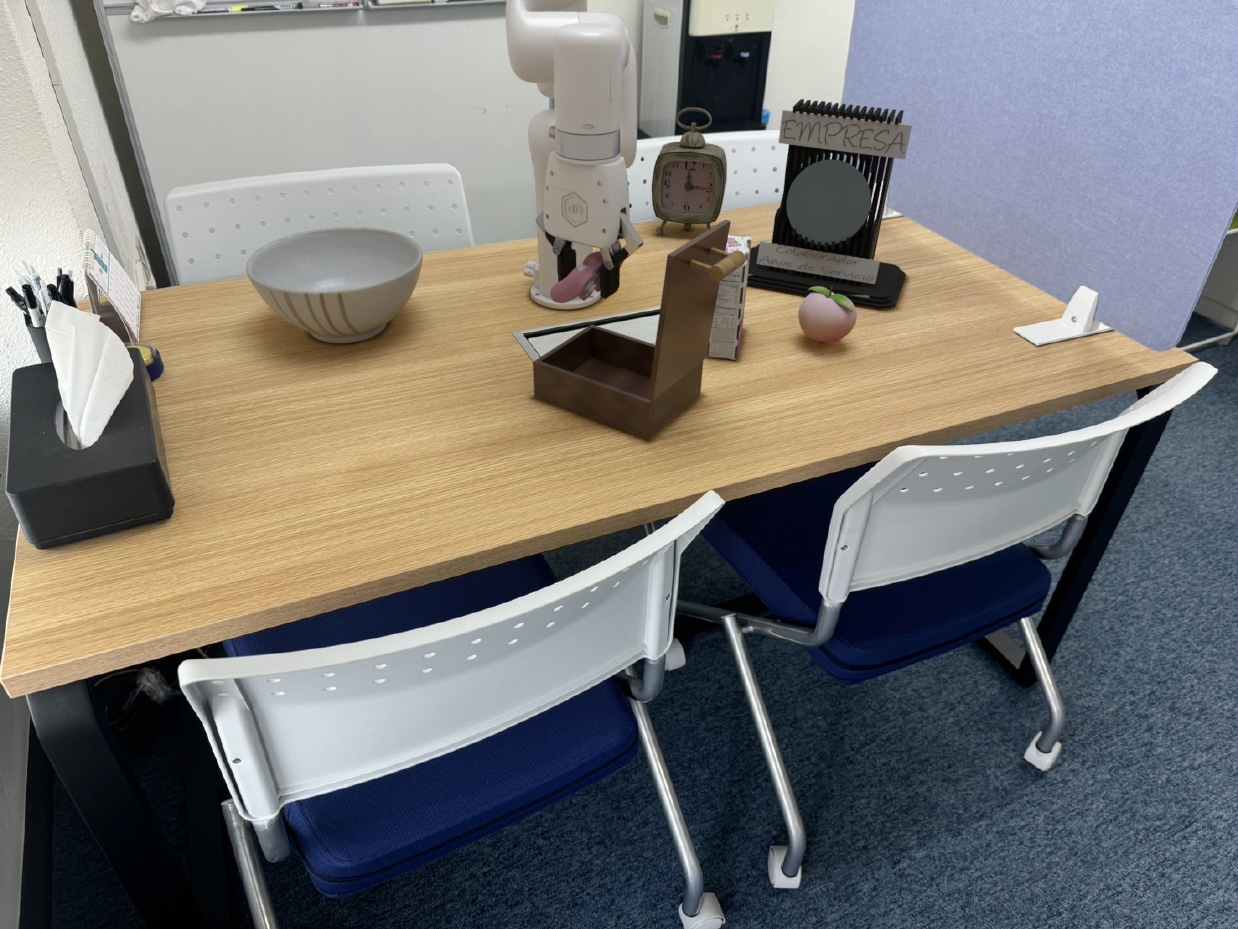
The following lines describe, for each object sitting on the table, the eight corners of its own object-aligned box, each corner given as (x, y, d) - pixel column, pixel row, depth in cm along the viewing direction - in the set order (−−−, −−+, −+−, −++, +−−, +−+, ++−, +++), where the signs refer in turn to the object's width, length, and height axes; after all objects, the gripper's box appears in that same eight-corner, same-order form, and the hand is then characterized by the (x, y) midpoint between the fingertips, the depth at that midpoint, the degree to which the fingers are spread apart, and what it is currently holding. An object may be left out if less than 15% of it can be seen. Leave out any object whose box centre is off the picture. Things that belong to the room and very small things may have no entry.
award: (726, 282, 161) (742, 113, 143) (752, 248, 175) (770, 90, 157) (892, 312, 151) (932, 136, 134) (907, 273, 166) (944, 109, 148)
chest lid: (667, 254, 101) (709, 269, 99) (725, 219, 111) (764, 232, 109) (647, 399, 114) (684, 415, 111) (701, 356, 124) (736, 370, 121)
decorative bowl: (303, 383, 128) (286, 308, 121) (238, 319, 144) (220, 250, 137) (460, 333, 142) (453, 263, 135) (384, 280, 159) (375, 215, 152)
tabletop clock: (649, 237, 179) (654, 110, 164) (655, 222, 186) (660, 99, 171) (719, 243, 177) (731, 115, 162) (722, 227, 184) (733, 103, 170)
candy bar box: (713, 327, 146) (721, 232, 136) (742, 330, 145) (753, 235, 135) (705, 358, 137) (713, 259, 127) (736, 361, 136) (747, 262, 126)
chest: (534, 398, 126) (532, 361, 122) (591, 358, 136) (591, 324, 132) (648, 441, 117) (650, 403, 114) (700, 395, 127) (703, 359, 124)
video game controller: (571, 320, 108) (592, 279, 103) (544, 297, 109) (564, 255, 104) (613, 293, 115) (635, 253, 110) (588, 272, 116) (608, 231, 111)
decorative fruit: (782, 343, 141) (790, 286, 135) (809, 327, 146) (819, 271, 140) (832, 363, 136) (843, 304, 130) (858, 345, 141) (870, 288, 135)
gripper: (509, 138, 101) (516, 282, 112) (633, 164, 94) (629, 316, 104) (547, 124, 106) (551, 264, 117) (668, 148, 99) (660, 294, 109)
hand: (588, 287), depth 110 cm, fingers closed on video game controller, 5 cm apart
